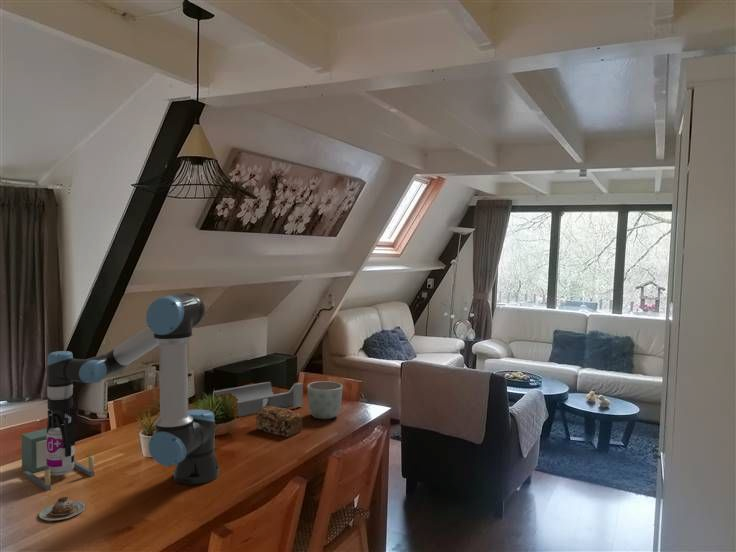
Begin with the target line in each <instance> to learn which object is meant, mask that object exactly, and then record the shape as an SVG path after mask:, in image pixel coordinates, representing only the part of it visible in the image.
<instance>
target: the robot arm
mask: <svg viewBox="0 0 736 552" xmlns="http://www.w3.org/2000/svg"><path fill="white" fill-rule="evenodd" d="M205 314H206V306H205V303H204V301H203V300H202V299H201V298H200V297H199V295H196V294H193V293H189V292H188V293H180V294H171V295H170V294H169V295H165V296H160V297H158V298H156V299H155V300H154V301H152V302H151V303H150V305H149V306H148V308H147V310H146V313H145V321H146V325H147V326H146V327H145V328H143V329H142V330H140V331H139V332H137V333H136V334H134V335H133V336H131V337H129V338H128V339H127V340H125V341H123V342H122V343H121V344H119V345H117V346H116V347H115V348H113V349H112V350H110V351H108V352H107V353H105V354H100V355H97V356H92V357H90V358H87V359H85V358H84V359H81V358H74V356H73V352H72V351H69V350H61V351H60V350H58V351H53V352H50V353H48V355H47V361H46V368H47V370H46V371H47V385H46V386H47V388H46V392H47V394H46V395H47V396H46V397H47V398H48V399H47V423H46V428H47V433H48V431H49V429H50V428H56V427H58V428H60V431H61V434H62V441H63V446H62V447H61V448H62V466H63V467H64V466H67V465H71V446H73V445H74V446H75V445H76V438H75V427H74V418H75V417H74V416H73V415H70V414H69V409H71V408H73V405H74V403H73V402H74V400H73V399H74V397H73V396H72V395H73V392H74V391H73V390H74V389H73V388H74V385H73V382H77V383H86V384H98V383H100V382H102V381H103V379H105V377H107V376H111V375H112V374H118V373H120V372H122V371H124V370H126V369H127V368H128V366H129V364H131V363H132V362H134V361H136V360H138V359H139V358H140V357H142V356H143V355H146V354H147V353H149V352H151V350H153V349H155V348H156V347H158V352H159V354H158V355H159V356H158V358H159V359H158V361H159V366H158V367H159V405H160V406H159V410H160V413H159V414H160V416H159V417H158V419H157V420H155V433H153V435H152V436H151V437H150V439H149V441H148V451H149V454H150V456H151V458H152V459H153V460H155V462H156V463H157V464H159V465H160V466H165V467H171V466H175V468H174V470H173V480H174V481H175V482H176V483H179V484H183V485H189V486H190V485H191V486H192V485H201V484H206V483H209V482H211V481H214V480H215V479H217V478H218V477H219V474H220V467H219V463H218V460H217V458H216V454H215V426H216V425H215V423H216V420H215V414H214V412H213V411H211V410H207V409H189V378H188V377H189V375H188V372H189V368H188V367H189V366H188V363H189V362H188V342H189V340H190V339H191V338H193V328H194V327H197V326H198V325H199V324H200V323H201V322H202V321H203V320H204V317H205V316H206V315H205Z"/></svg>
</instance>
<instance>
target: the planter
mask: <svg viewBox="0 0 736 552" xmlns="http://www.w3.org/2000/svg"><path fill="white" fill-rule="evenodd" d="M306 390H307V406H308V412H309V413H310V414H311V415H312V417H313V418H315V419H319V420H330V419H333V418H335V417H337V415H338V414H339V412H340V411H341V406H342V397H343V396H342V395H343V384H341V383H340V382H336V381H327V380H325V381H324V380H321V381H313V382H309V383H308V384H307V389H306Z"/></svg>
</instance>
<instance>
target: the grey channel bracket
mask: <svg viewBox="0 0 736 552" xmlns="http://www.w3.org/2000/svg"><path fill="white" fill-rule="evenodd" d="M213 392H214V393H215V395H220V394H225V393H231V394H232V395H233V396H235V397H236V398H237V399H238V401H237V403H238V405H237V409H238V418H240V417H241V418H242V417H245V416H250V415H257V411H259V409H260V408H262V407H265V406H274V407H280V408H288V407H293V409H295V410H296V408H298V409H299V407H303V399H304V397H303V395H304V394H303V393H304V384H303V383H301V382H295V383H293V385H292V387H290V389H289V390H288V391H286V392H280V393H275V394H274V392H273V389H272V382H271V381H265V382H259V383H254V384H253V383H252V384H247V385H242V386H237V387H229V388H222V389H217V390H213V391H212V393H213Z"/></svg>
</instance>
